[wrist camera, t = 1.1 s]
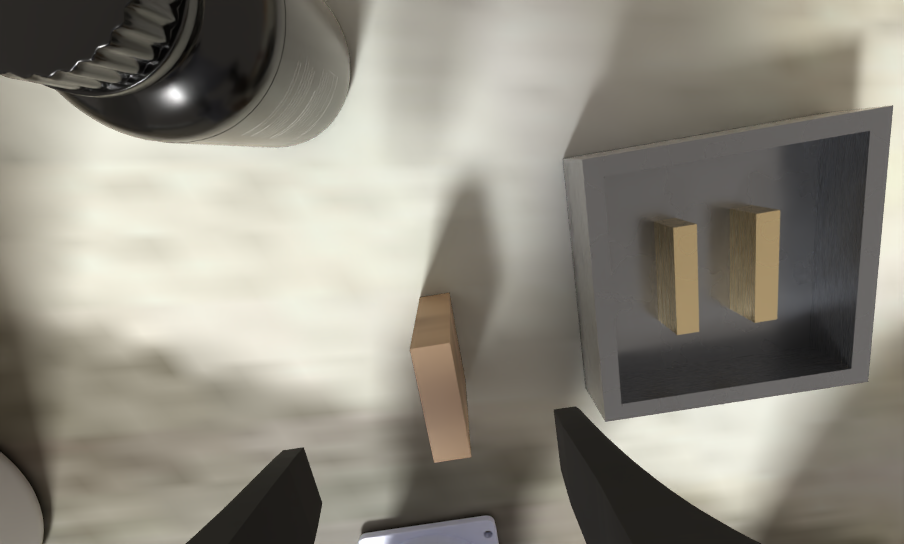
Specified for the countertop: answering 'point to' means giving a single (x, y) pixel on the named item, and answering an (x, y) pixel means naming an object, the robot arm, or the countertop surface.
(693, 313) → the square metal tray
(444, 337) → the tan wooden brick
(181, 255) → the countertop surface
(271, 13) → the supplement bottle
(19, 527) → the cylinder vase
